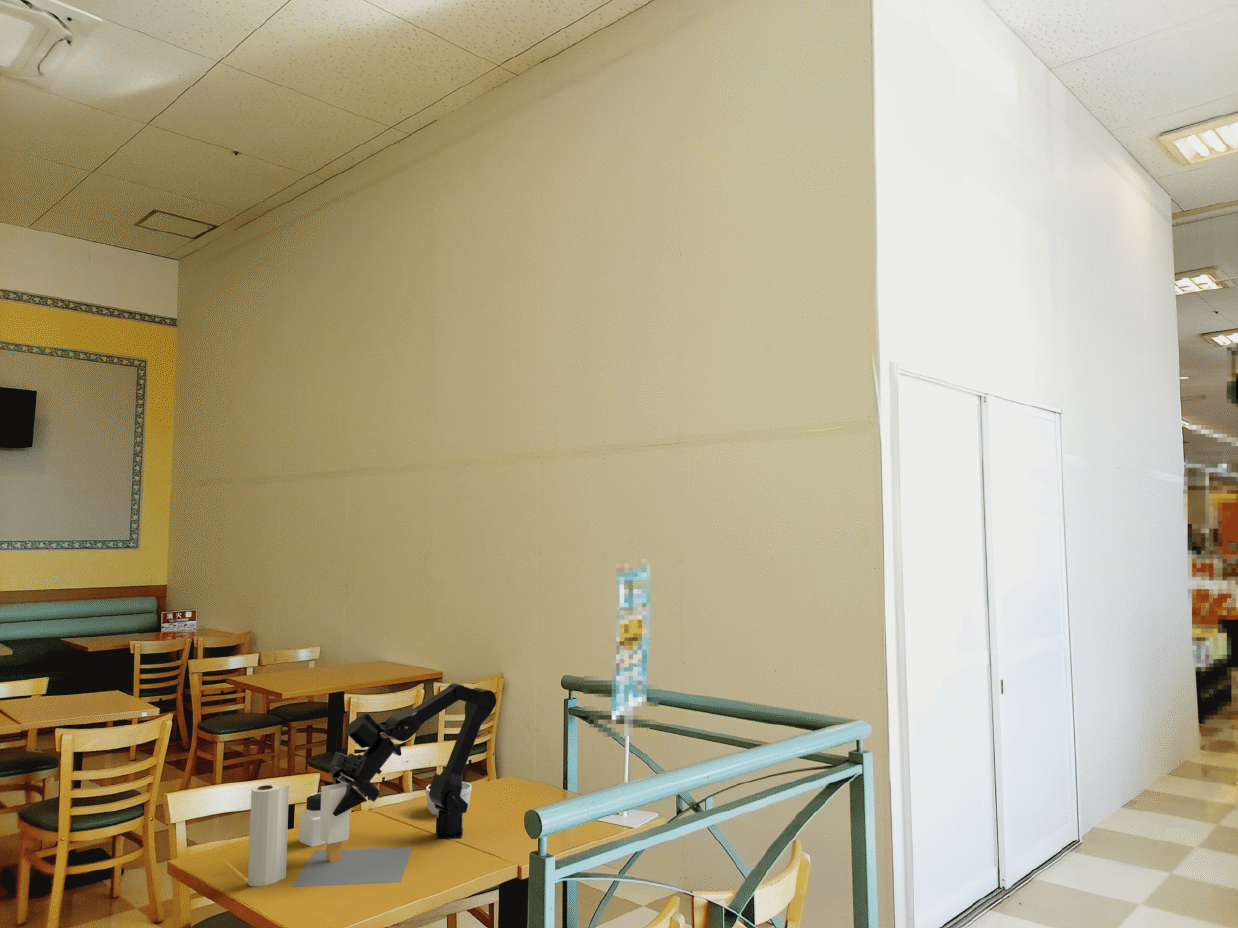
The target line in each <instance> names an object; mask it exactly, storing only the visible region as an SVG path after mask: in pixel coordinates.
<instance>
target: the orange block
mask: <svg viewBox="0 0 1238 928" xmlns="http://www.w3.org/2000/svg"><path fill="white" fill-rule="evenodd" d="M341 849H342V841H340V842H336V843H331V844H327V843H326V850H327V853H326V860H327V861H329V862H330V863H331V862H335V861H339V860H341Z"/></svg>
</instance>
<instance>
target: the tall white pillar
mask: <svg viewBox="0 0 1238 928" xmlns="http://www.w3.org/2000/svg"><path fill="white" fill-rule="evenodd" d="M346 787H347V786H346V785H344V784H342V783H340V784H334V785H333V784H330V785H325V786H321V787H320V788H321V789H320V793H321V816H320V839H321V840H323V841H324V842H326V843H325V844H326V845H327V844H331V843H336V842H340V841H341V842H344V841H348V840H350V811H351V810H350V809H349V810H347V811H345V812H343V813H341V814H340V815H338V816H335V815H333V812H334V811H335V809H336V807H337V806H338V804H339V803H340V801H341V800H342V798H343V797H344V795H345V794H346Z"/></svg>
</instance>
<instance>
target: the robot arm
mask: <svg viewBox="0 0 1238 928" xmlns="http://www.w3.org/2000/svg"><path fill="white" fill-rule="evenodd" d="M458 701H463V702H465V703H464V719H463V722H462V725H461V728H460V730H459V732H458V735H457V738H456V740H455V743H454V745H453V747H452V750H451V753H450V755H449V758H448V761H447V762H446V765H445V768H444V769H443V771H442V772H441V773H440V774H438V773H434V775H433V777H432V781H431V783H430V784H429V785H430V786H429V785H428V786H429V789H430V792H429V796H430V799H431V801H432V802H433V803H434V805H435V808H436V809H439V813H438V815H436V818H435V822H436V823H435V834H436V838H437V839H445V838H444V837H446V839H447V838H448V839H450V838H451V837H454V838H463V834H464V833H463V832H464V827H463V825H464V824H463V820H464V818H463V816H464V814H465V813H467V811H468V809H469V807H468V804H467V803H466V802H465V801H464V800H463V799H462V798H461V797H460V795H461V790H462V782H463V778H462V777H463V773H464V770H465V768H466V765H467V763H468V761H469V758H470V755H471V752H472V749H473V748H474V745H475V742H476V739H477V737H478V734H479V731H480V729H481V727H482V724H483V723H484V722H486V720H487V719H489V716H491V714H492V713H493V711H494V709H495V706H496V705H497V702H498V699H497V696H496V693H495V692H493V690H489V689H486V688H485V689H484V688H481V687H474V688H471V687H466V686H465V685H463V684H462V683H461V684H459V683H455V682H454V683H449V685H448V686H447V687H446V688H444V689H442V690H440V691H439V692H438V693H436V694H435V695H433V696H432V697H430V698H428V699H427V700H424V701H423V702H421V703H420V704H419V705H417V706H415V707H414V708H411V709H408V710H404V711H400V712H397V713H395V714H393V715H391V716H390V717H388V718H387V719H386V720H384V721H381V722H378V723H377V722H376V721H375V720H374V719H373V718H372V716H371V715H370V714H369V713H367V712H363V714H361V715H360V716H358V717H356V718H355V719H354V720H352V721H351V722H350V723H349V724H348V725H347V727H346V729H345V734H346V735H347V736H348V737H349V738H350V739H351V740H352V741H353V742H354V743H355V744H357V746H359V747H360V748H361V749H365V748H367V749H366V750H365V751H364V752H363V753H362V754H353V753H351V752H350V753H349V754H348V755H347V754H344V753H341V752H338V751H336V752H335V753H334V756H333V758H332V760H331V762H330V765H331V766H332V767H331V769H330V771H328V774H329V775H330V776H331V780H332V785H334V784H340V783H342V784H344V785H346V786H347V787H346V794H345V795H344V797H343V798H342V800H341V801H340V803H339V804H338V806H337V807H336V809H335V811H334V812H333V815H335V816H338V815H340V814H341V813H343V812H345V811H347V810H349V809H353V808H354V807H356V806H359V805H360V804H363V803H364V802H365V803H367V801H371V802H373V803H375V801H376V800H377V799H378V798H379V797H380V789H378V787H376V786H375V785H374V784H373V783H372V782H371V780H372V779H373V778H374V777H375V776H376V774H377V775H380V774H381V773H382V772H383V771H382V770H381V768H382V767H383V766H384V765H385V763H386V762H387V761H388V760H389V758H390V757H391V756H392V754H393V755H396V756H398V757H401V756H402V749H401V748H402V744H400V743H394V741H393V740H391V739H394V740H396V741H400V742H405V741H408V740H409V739H411V738H412V736H414V735H416V733H418V731H419V730H420V728H421V726H422V725H424V724H425V722H426V721H428V720H430V719H431V718H433V717H435V716H436V715H439V714H440V713H441V712H442V711H444V710H446V709H448V707H450V706H452V705H453V704H455V703H456V702H458ZM382 735H385V736H387V737H383V736H382ZM367 799H368V800H367ZM467 808H468V809H467Z"/></svg>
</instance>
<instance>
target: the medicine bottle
mask: <svg viewBox="0 0 1238 928" xmlns="http://www.w3.org/2000/svg"><path fill="white" fill-rule="evenodd" d="M305 809H306V812H304V813H303V812H302V813H300V814H299V816H298V822H299V823H298V842H300V843H302V844H305V845H307V846H309V847H311V848H314V847H317V846H320V845H324V844H327V843H326V842H324V841H323V840H321V839H320V816H321V792H316V793H312V794H309V795H308V796H307V797H306V808H305Z"/></svg>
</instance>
